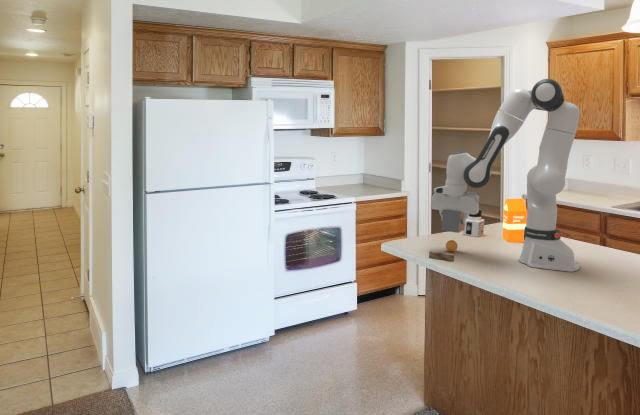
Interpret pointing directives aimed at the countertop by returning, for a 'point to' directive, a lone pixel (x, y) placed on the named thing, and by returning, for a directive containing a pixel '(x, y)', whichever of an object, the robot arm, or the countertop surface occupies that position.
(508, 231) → the orange juice
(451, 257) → the bar
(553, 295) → the countertop surface
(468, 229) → the container
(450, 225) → the matte gray box
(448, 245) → the ball
